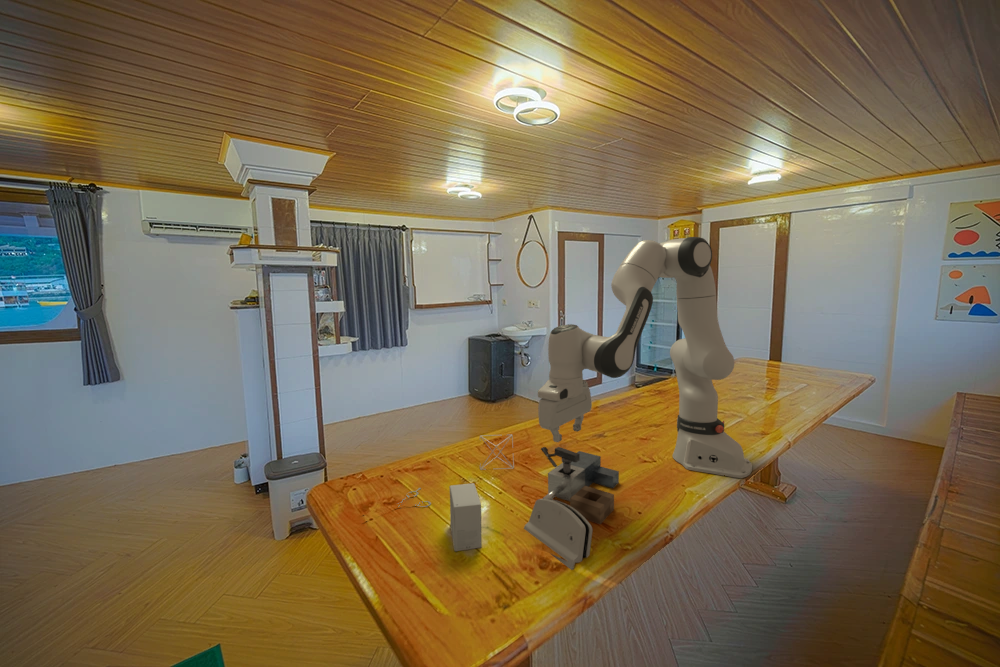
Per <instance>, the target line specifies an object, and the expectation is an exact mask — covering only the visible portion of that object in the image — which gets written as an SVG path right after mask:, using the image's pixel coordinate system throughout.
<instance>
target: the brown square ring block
mask: <svg viewBox="0 0 1000 667" xmlns="http://www.w3.org/2000/svg"><path fill="white" fill-rule="evenodd" d="M569 506H571V507H573V508H574V509H575V510H577V511H578V512H579V513H580V514H581V515H582V516H583V517H584V518H585V519H586V520H587V521H588V522H589V521H590V522H593V523H595V524H598V525H602V523H603V522H604V521H605V520H606V519H607V518H608V517H609V516H610V515H611V513H613V511H614V510H615V494H614V493H611V492H607V491H603V490H601V489H599V488H595V487H591V486H589V487H588V486H584V487H583V488H582V489H580V490H579V491H578V492H577V493H576V494H575V495H574V496H572V497H571V498H570V501H569Z"/></svg>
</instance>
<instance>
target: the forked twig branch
mask: <svg viewBox="0 0 1000 667" xmlns="http://www.w3.org/2000/svg"><path fill="white" fill-rule="evenodd" d="M540 450H542V453H544V455H545V457H546V458H547V459H548V460H549V462H550V464H552V466H553V467H554V468H556V467H557V466H558V465H557V463H556V462H555V461H554V459H553V458H552V457H556V455H555V452H554V453H549V451H548V450H549V449H548V448H547V447H545V446H542V447H541V448H540Z"/></svg>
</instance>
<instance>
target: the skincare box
mask: <svg viewBox="0 0 1000 667" xmlns="http://www.w3.org/2000/svg"><path fill="white" fill-rule="evenodd" d="M449 505H450V506H449V508H450V513H449V514H450V531H451V533H450V534H451V538H452V544H453V549H454V552H458V551H465V550H473V549H479V548H482V547H483V545H482V542H483V541H482V504H481V499H480V497H479V494H478V490H477V488H476V485H475V483H473V482H472V483H464V484H462V483H461V484H453V485H449Z"/></svg>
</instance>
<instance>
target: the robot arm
mask: <svg viewBox="0 0 1000 667" xmlns="http://www.w3.org/2000/svg"><path fill="white" fill-rule="evenodd" d="M712 259H713V250H712V247H711V245H710V244H709V242H708V241H707V240H706V239H705V238H703V237H700V236H699V237H698V236H689V237H684V238H683V237H682V238H671V239H669V240H666V241H662V242H660V243H659V242H657V241H656V240H653V239H644V240H641V241H638V243H636V244H635V245H634V247H632V249H630V251H629V252H628V253H627V255H626V256H625V257H624V259H623V260H622V261H621V263H620V264H619V266H618V268H617V270H616V271H615V273H614V274H613V277H612V279H611V285H610V286H611V290H612V293H613V295H614V296H615V298H616V299H617V300H618V301H619V302H620V303H621V304H623V305H624V306H625V311H624V313H623V316H622V318H621V321H620V323H619V325H618V327H617V330H616V332H615V333H614V334H613V335H610V336H602V335H599V334H598V335H597V334H593V333H590V332H588V331H585V330H584V329H582V328H580V326H578V324H572V323H569V324H562V325H558V326H556V327H554V328H552V329H551V331H550V333H549V337H548V343H547V344H548V345H547V346H548V349H547V350H548V352H547V353H548V354H547V355H548V357H547V358H548V363H549V365H550V366H549V367H550V368H549V373H548V379H547V381H546V382H545V383H544V384H543V385H542V386H541V387H540V388H539V389H537V390H538V391H537V397H538V399H540V400H539V401H538V424H539V426H540V428H541V429H545V430H549V431H550V432H551V435H552V440H553V442H554V443H560V442H561V441H563V440H562V439H563V437H562V436H563V435H562V434H561V433H560V432H559V430H560V427H561V426H564V425H565V424H567V423H569V422H571V421H573V420H574V424H572V430H573V431H574V432H580V431H581V430H582V424H583V421H584V415H585V414H587V413H590V412H591V411H592V405H593V404H592V397H591V396H592V394H591V389H590V388H589V384H588V382H587V381H586V379H583V375H584V374H583V371H584V370H589V371H592V372H595V373H599V374H602V375H604V376H606V377H608V378H611V379H612V378H613V379H617V378H620V377H622V376H624V375H625V374H627V373H628V372H629V371H630V369H631V367H632V366H633V364H634V361H635V360H634V359H635V355H636V350H637V346H638V344H639V341H640V339H641V336H642V334H643V331H644V328H645V326H646V324H647V321H648V318H649V316H650V314H651V311H652V307H653V303H654V296H653V294H652V292H653V288H654V286H655V285H656V283H657V281H658V279H661V278H662V279H663V278H664V279H665V278H667V279H668V278H669V279H670V278H671V279H672V278H674V279H675V281H676V308H677V309H676V310H677V321H678V322H677V323H678V325H679V326H680V328H681V330H682V332H683V335H684V338H680V339H677V340H675V342H673V343H672V345H671V346H670V350H669V356H670V359H671V361H672V363H673V366H674V370H675V376H676V380H677V386H678V392H679V393H678V394H679V398H678V399H679V400H678V410H679V411H678V415H677V418H676V431H677V435H676V436H677V437H676V443H675V448H674V450H673V453H672V458H673V459H674V460H675V461H676V463H679V464H681V465H682V466H683V467H684V468H685V470H690V471H693V472H694V471H695V472H702V473H706V474H712V475H719V476H724V475H725V476H726V477H730V478H736V479H743V478H746V477H748V476H750V475H751V473H752V471H753V463H752V462H751V461H750V459H748V458H745V455H744V450H743V447H742V445H741V444H740V443H739V442H738V441H736V440H735V439H734V438H732V437H731V436H730V435H729V434H727V432H726V431H725V420H723V421H721V420H720V419H719V418H718V409H719V408H718V407H719V406H718V404H719V395H718V392H717V389H715V386H714V383H713V380H715V381H720V380H723V379H726V378H728V377H729V376H730V375H731V374H732V373H733V371H734V368H735V358H734V356H733V354H732V353H731V351H730V350H729V348H728V347H727V345H726V342H725V339H724V337H723V336H724V335H723V332H722V331H721V326H720V323H719V317H718V306H717V305H718V304H717V303H718V302H717V291H716V289H717V287H716V282H715V278H714V272H713V269H712V266H711V263H712Z"/></svg>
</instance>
